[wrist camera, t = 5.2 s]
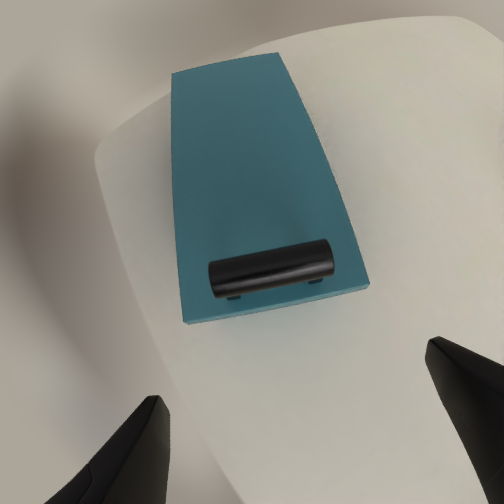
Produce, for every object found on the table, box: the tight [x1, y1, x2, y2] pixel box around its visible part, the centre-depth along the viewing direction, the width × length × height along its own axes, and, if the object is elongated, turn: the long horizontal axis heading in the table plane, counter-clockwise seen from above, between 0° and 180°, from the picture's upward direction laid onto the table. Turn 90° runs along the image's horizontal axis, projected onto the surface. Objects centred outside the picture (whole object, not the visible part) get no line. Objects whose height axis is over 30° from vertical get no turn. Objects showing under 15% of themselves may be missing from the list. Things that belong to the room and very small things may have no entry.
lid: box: [171, 52, 370, 325], centre depth 18 cm, size 21×9×4 cm, turn 10°
